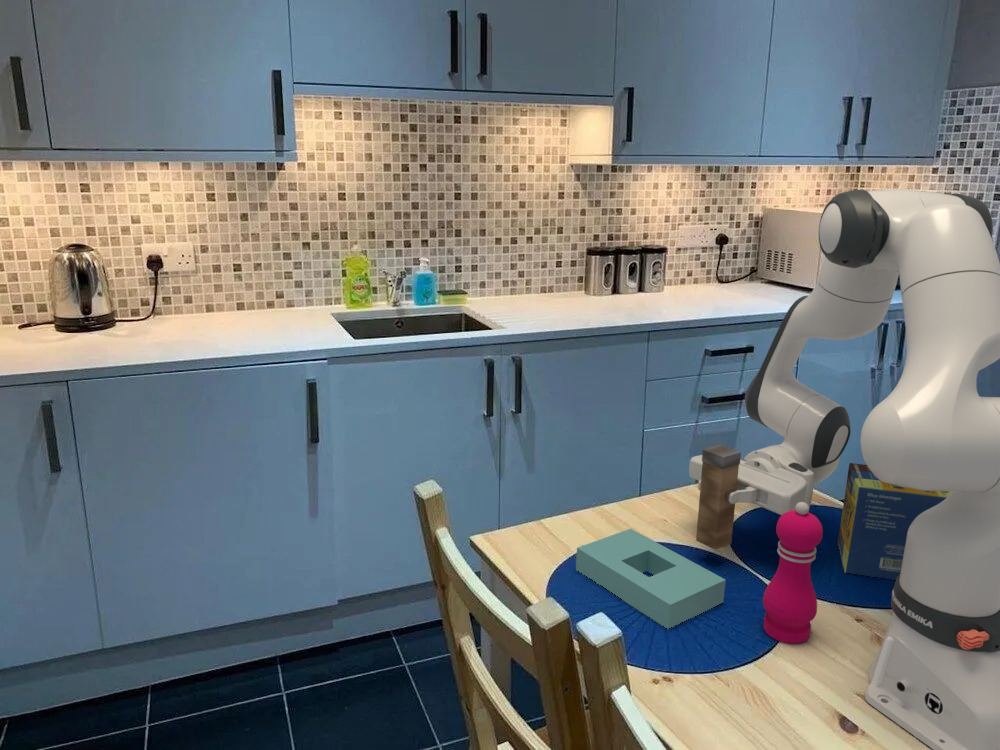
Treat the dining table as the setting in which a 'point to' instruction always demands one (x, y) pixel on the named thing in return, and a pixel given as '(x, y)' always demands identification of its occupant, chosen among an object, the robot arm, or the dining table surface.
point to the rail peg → (717, 496)
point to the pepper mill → (793, 577)
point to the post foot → (661, 596)
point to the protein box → (878, 522)
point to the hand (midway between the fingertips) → (714, 492)
